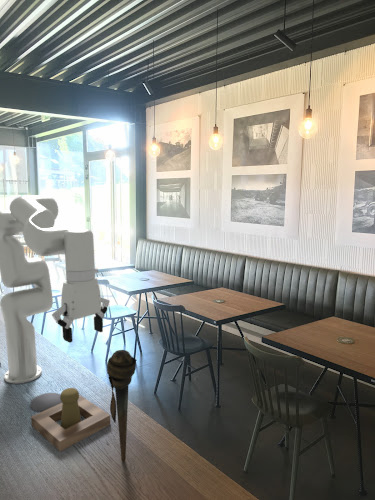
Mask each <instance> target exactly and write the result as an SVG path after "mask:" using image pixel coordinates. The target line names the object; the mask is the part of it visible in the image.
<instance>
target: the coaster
mask: <svg viewBox="0 0 375 500" xmlns="http://www.w3.org/2000/svg"><path fill="white" fill-rule="evenodd" d="M60 395H61V393H58V392H57V393H56V392H46V393H42V394H40V395H36V396H35V397H33V399H32V400H30V403H29V406H30V409H31V410H32V411H34V412H38V413H40V412H43V411H45V410H47V409H49V408H52V407H54V406H56V405H58V404H60V403H62V402H61V399H60Z"/></svg>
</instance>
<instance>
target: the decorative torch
mask: <svg viewBox="0 0 375 500" xmlns="http://www.w3.org/2000/svg"><path fill="white" fill-rule="evenodd" d="M136 367H137V359H136V358H135V357H133V356H132V355H131V353H130V351H128V350H125V349H120V350H119V349H118V350H115V352H113V354H112V355H111V356H110V357H109V358H108V360H107V364H106V372H107V375H108V381H109V383H110V387H111V393H112V394H111V398H110V399H111V400H110V404H109V405H110V406H109V409H110V410H109V411H110V417H111V418H112V420H113V423H114V424H116V419H117V424H118V425H117V426H118V434H119V445H120V456H121V457H120V459H121V460H120V461H122V462H124V463H125V462H126V459H127V458H126V456H127V436H128V435H127V430H128V408H129V407H128V406H129V405H128V404H129V403H128V402H129V385H130V384H131V383H132V379H133V376H134V374H135V372H136V369H137V368H136ZM114 390H115V393H114Z"/></svg>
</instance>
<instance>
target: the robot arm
mask: <svg viewBox="0 0 375 500" xmlns="http://www.w3.org/2000/svg"><path fill="white" fill-rule="evenodd" d="M58 215H59V206H58V203H57V201H56V199H54V198H53V197H52V196H50V195H23V196H18V197H15V198H14V199H13V200H12V201H11V202H10V205H9V210H3V211H2V210H1V211H0V278H1V283H2V285H4V286H3V287H6V288H7V289H8V288H10V289H15V288H18V287H20V288H21V287H26V286H32V285H34V287H31V288H27V289H26V288H25V289H21V290H16V291H12V292H9V293H6V294H5V295H3V296H2V297H1V298H0V311H1V314H2V318H3V322H4V329H5V330H4V331H5V341H6V353H7V366H8V370H7V371H6V372H5V373H4V376H3V377H4V381H5V382H6V383H9V384H16V385H17V384H25V383H29V382H32V381H34V380H36V379H38V378H39V377H40V376H41V375H42V373H43V372H42V371H43V370H42V369H43V368H41V366H39V365H38V361H37V348H36V347H37V346H36V345H37V343H36V334H35V333H36V332H35V327H34V325H33V323H32V322H31V321H29V319H27V318H28V317H31V316H34V315H38V314H42V313H47V312H49V311H50V310H51V309H52V307H53V291H52V285H51V284H52V283H51V277H50V270H49V267H48V264H47V262H46V261H45V260H44V259H43V258H41V257H51V256H58V255H64V257H65V258H64V259H65V276H66V277H65V278H66V279H65V280H66V281H63V283H62V289H61V300H60V301H61V305H60V307H59V308H58V309H56V310H55V311H54V312H52V314H51V317H52V318H53V320H54V321H55V323H57V325H59V326H60V327H61V328H62V338H63V340H64V341H65V342H67V343H73V329H72V327H71V325H72V324H73V322H74V321H75V320H79V319H82V318H86V317H89V316H93V315H94V316H93V327H94V328H93V329H94V330H95V331H96V332H99V333H103V331H104V330H103V329H104V328H103V327H104V320H103V319H104V318H105V315H106V313H107V311H108V307H109V305H110V299H106V298H104V297H101V289H100V284H99V282H98V278H97V277H96V274H97V273H99V268H97V267H96V266H95V265H96V264H95V242H94V241H95V240H94V233H93V232H92V230H90V229H87V228H80V227H78V226H76V225H70V226H69V225H68V226H58V227H57V226H56V227H54V226H55V221H56V219H57V218H58ZM16 236H23V240H24V242H25V245H26V246H27V247H28V249H30V250H31V251H32V252H33V253H35V254H36V255H38V256H41V257H29V258H26V256H25V248H24V246H23V243H22V242H21V241H20V239H18V238H17V237H16ZM61 316H62V317H63V318H62V317H61Z"/></svg>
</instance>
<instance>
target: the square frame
mask: <svg viewBox="0 0 375 500" xmlns="http://www.w3.org/2000/svg"><path fill="white" fill-rule="evenodd" d="M77 401H78V406H79V411H80V416H81V418H83V420H81V422H79V423H77V424H75V425H73V426H71V427H69V428H67V429H64V428H62V427H61V424H59V423H58V422H61V416H62V404H63V403H60V404H58V405H56V406H54V407H52V408H49V409H47V410H45V411H43V412H38V413H36V414H34V415H31V416H30V421H31V427H32V428H33V429H35V430H36V431H37V433H39V434H40V435H41V436H42V437H43V438H44V439H45V440H47V441H48V442H49V443H50V444H51V445H52V446H53V447H54V448H56V449H57V450H58V451H59V452H63V451H64V450H66V449H68V448H71V447H72V446H73V445H74V446H75V444H78V443H79V442H81V441H83V440H84V439H86V438H88V437H90V436H92V435H94V434H95V433H97V432H100V431H101V430H104V429H105V428H107V427H108V426H110V425H111V414H109V413H108V412H106V411H104V410H103V409H102V408H100V407H98V406H97V405H95V404H94V403H92V402H91V401H90V400H88V399H87V398H86V397H84V396H82V395H81V394H79V399H78V400H77Z"/></svg>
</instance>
